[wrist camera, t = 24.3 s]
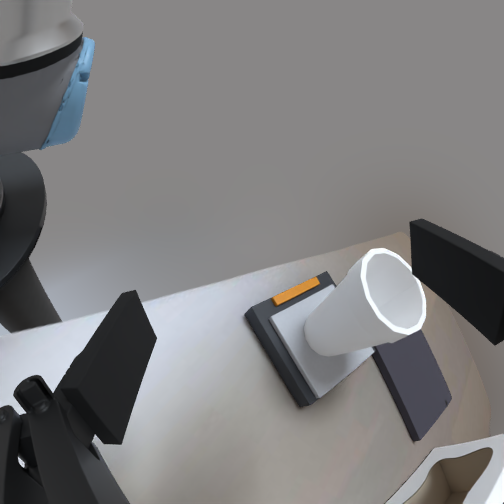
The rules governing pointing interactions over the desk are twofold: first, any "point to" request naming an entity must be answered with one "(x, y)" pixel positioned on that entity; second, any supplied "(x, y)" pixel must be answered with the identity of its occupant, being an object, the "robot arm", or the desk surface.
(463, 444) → the gable box
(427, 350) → the notebook
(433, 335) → the desk surface
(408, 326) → the foam cup
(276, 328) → the scale
